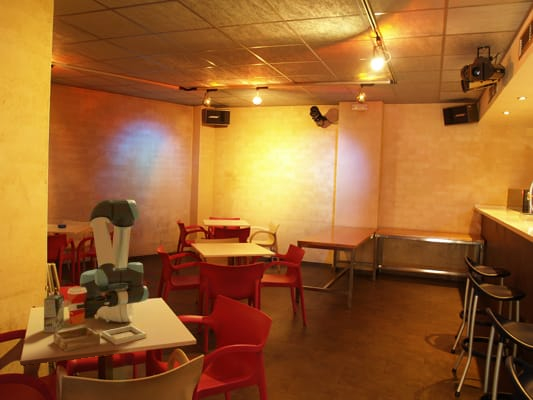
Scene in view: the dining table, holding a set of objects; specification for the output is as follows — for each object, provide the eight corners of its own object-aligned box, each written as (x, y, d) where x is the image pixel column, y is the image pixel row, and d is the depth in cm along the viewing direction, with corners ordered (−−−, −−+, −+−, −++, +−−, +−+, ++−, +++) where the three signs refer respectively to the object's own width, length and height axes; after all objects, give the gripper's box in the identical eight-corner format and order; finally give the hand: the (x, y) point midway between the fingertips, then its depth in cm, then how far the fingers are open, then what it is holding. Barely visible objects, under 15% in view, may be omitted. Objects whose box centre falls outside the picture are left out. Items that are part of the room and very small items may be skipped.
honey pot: (130, 326, 231) (94, 331, 229) (134, 312, 243) (100, 317, 241) (125, 304, 226) (88, 309, 225) (129, 291, 239) (95, 296, 237)
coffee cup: (70, 319, 206) (70, 286, 206) (89, 319, 207) (89, 286, 207) (64, 324, 198) (64, 290, 198) (83, 324, 199) (83, 291, 198)
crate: (53, 341, 204) (53, 333, 203) (87, 335, 214) (87, 326, 214) (65, 351, 193) (65, 342, 192) (99, 343, 203) (100, 335, 202)
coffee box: (57, 332, 216) (57, 299, 215) (43, 332, 215) (43, 299, 215) (64, 326, 225) (64, 294, 224) (50, 326, 225) (50, 294, 224)
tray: (101, 335, 213) (102, 331, 213) (131, 329, 223) (131, 325, 223) (115, 344, 202) (115, 340, 202) (146, 337, 212) (146, 333, 212)
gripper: (125, 310, 207) (73, 319, 192) (107, 301, 222) (58, 309, 206) (125, 294, 207) (73, 302, 192) (107, 286, 222) (58, 293, 206)
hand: (65, 306), depth 199 cm, fingers closed on coffee cup, 7 cm apart
